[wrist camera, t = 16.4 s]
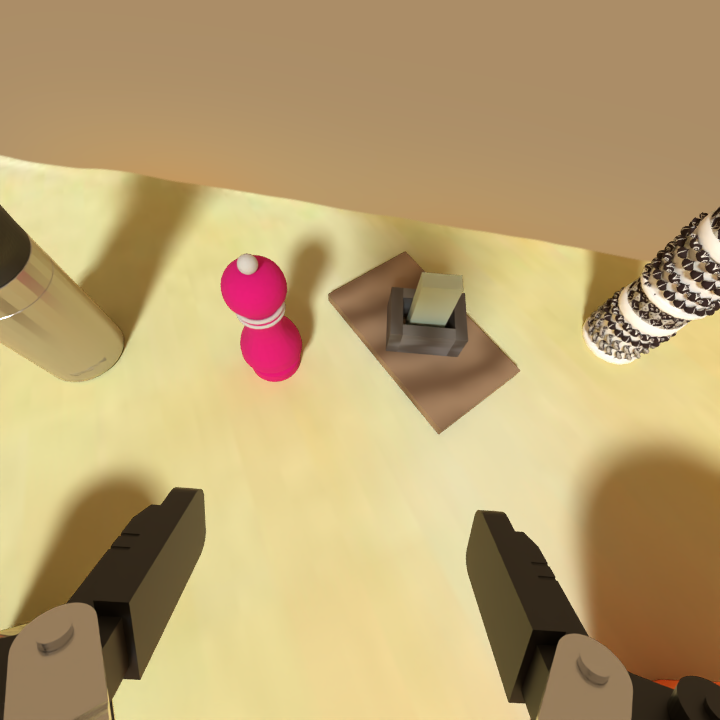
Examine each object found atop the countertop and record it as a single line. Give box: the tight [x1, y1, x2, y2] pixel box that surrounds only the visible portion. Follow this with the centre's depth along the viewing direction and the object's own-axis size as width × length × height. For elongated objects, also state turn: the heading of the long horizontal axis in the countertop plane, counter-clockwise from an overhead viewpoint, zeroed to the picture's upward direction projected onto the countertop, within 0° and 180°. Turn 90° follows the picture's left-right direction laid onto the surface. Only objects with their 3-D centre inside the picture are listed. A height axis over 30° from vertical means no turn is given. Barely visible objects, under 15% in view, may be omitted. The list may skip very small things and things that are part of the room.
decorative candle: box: [582, 207, 720, 365], centre depth 44 cm, size 9×9×25 cm
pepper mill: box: [221, 254, 302, 382], centre depth 41 cm, size 7×7×20 cm
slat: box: [405, 272, 463, 328], centre depth 47 cm, size 4×2×11 cm, turn 87°
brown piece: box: [328, 252, 520, 434], centre depth 51 cm, size 14×24×6 cm, turn 36°
